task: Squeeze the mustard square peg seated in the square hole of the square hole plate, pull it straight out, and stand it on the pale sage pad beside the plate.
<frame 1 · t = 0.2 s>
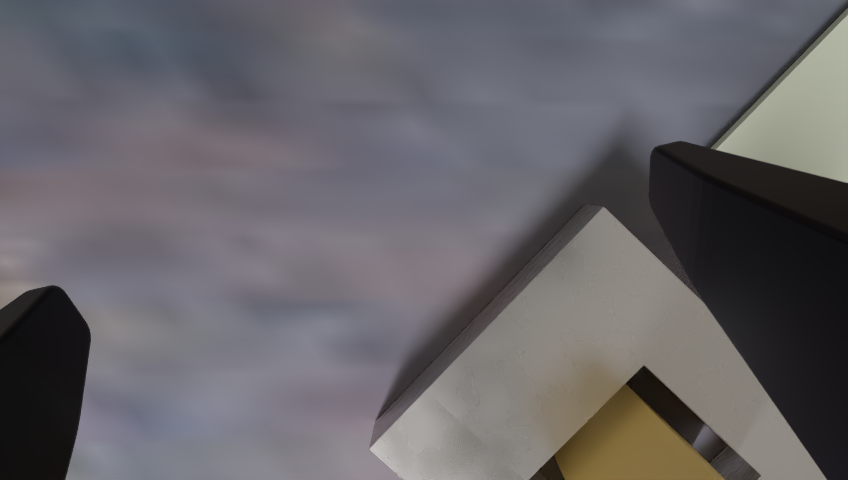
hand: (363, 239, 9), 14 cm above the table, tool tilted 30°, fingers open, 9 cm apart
square hole plate: (621, 448, 25), on the table
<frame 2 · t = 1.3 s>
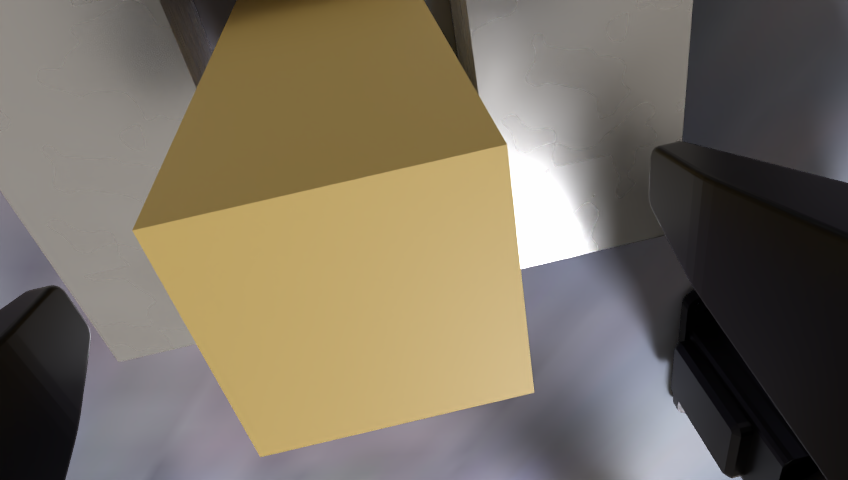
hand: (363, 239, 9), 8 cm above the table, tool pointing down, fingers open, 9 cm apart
square hole plate: (340, 61, 16), on the table
peg: (348, 146, 12), in the square hole plate
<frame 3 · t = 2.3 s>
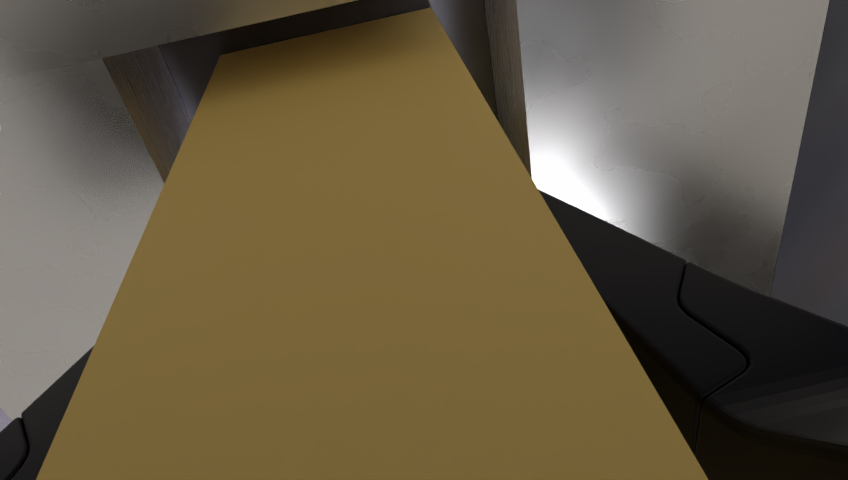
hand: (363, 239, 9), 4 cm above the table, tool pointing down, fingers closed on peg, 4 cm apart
square hole plate: (352, 129, 12), on the table
peg: (367, 278, 8), in the square hole plate, touching gripper
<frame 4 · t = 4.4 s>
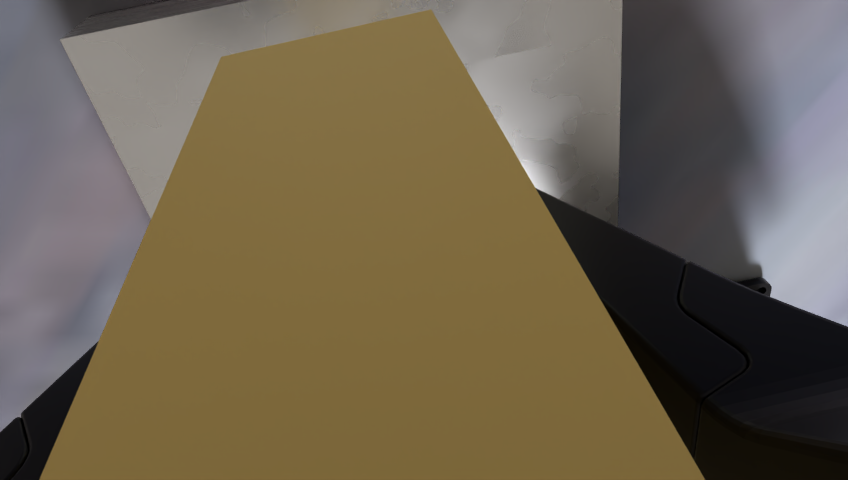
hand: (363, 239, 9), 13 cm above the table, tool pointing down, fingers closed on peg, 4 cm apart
square hole plate: (381, 138, 22), on the table
peg: (367, 280, 8), point 14 cm above the table, touching gripper
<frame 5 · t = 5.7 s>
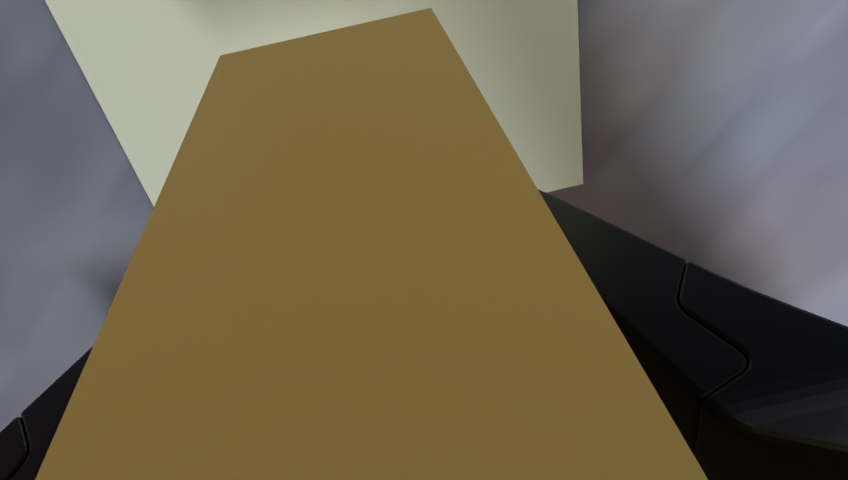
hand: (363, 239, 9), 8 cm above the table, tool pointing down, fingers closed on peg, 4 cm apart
pad: (343, 60, 16), on the table
peg: (367, 279, 8), point 9 cm above the table, touching gripper
when the fingers open (6 cm above the table, at t = 6.8 s): peg drops 1 cm, resting on pad.
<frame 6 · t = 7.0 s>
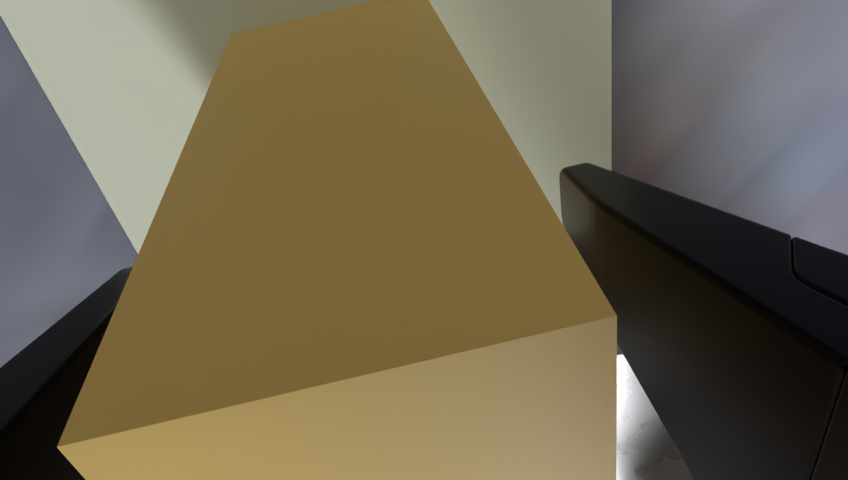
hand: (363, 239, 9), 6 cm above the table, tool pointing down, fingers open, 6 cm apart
pad: (348, 92, 14), on the table
square hole plate: (445, 452, 22), on the table
peg: (364, 224, 9), on the pad, point 6 cm above the table
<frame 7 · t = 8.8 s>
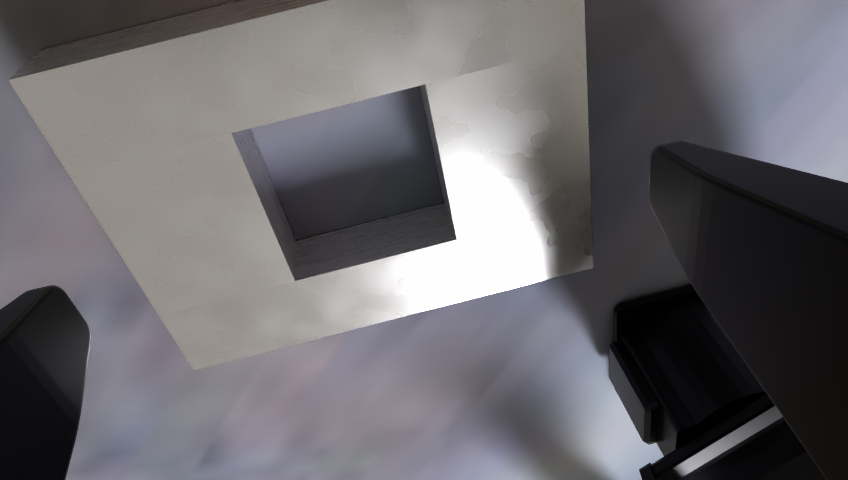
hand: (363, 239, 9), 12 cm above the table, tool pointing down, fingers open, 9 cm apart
square hole plate: (349, 155, 22), on the table
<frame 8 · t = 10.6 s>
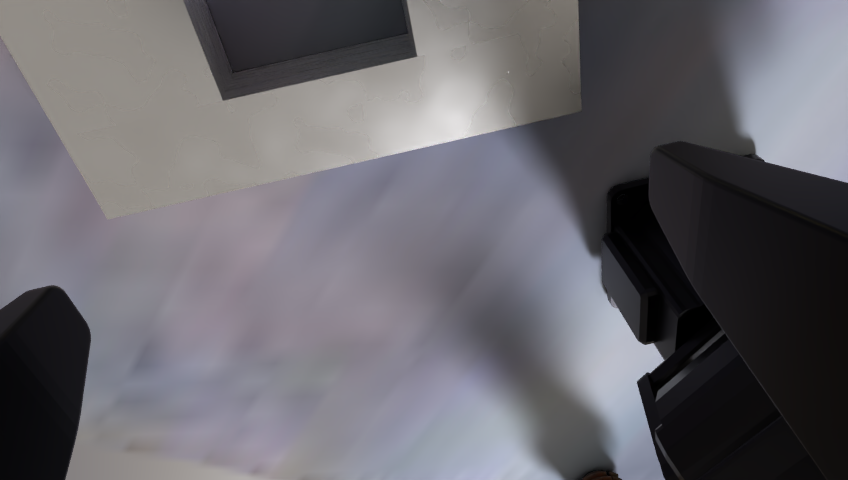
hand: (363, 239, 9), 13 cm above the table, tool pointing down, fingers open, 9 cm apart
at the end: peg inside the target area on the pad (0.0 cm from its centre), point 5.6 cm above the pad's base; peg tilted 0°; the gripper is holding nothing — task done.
